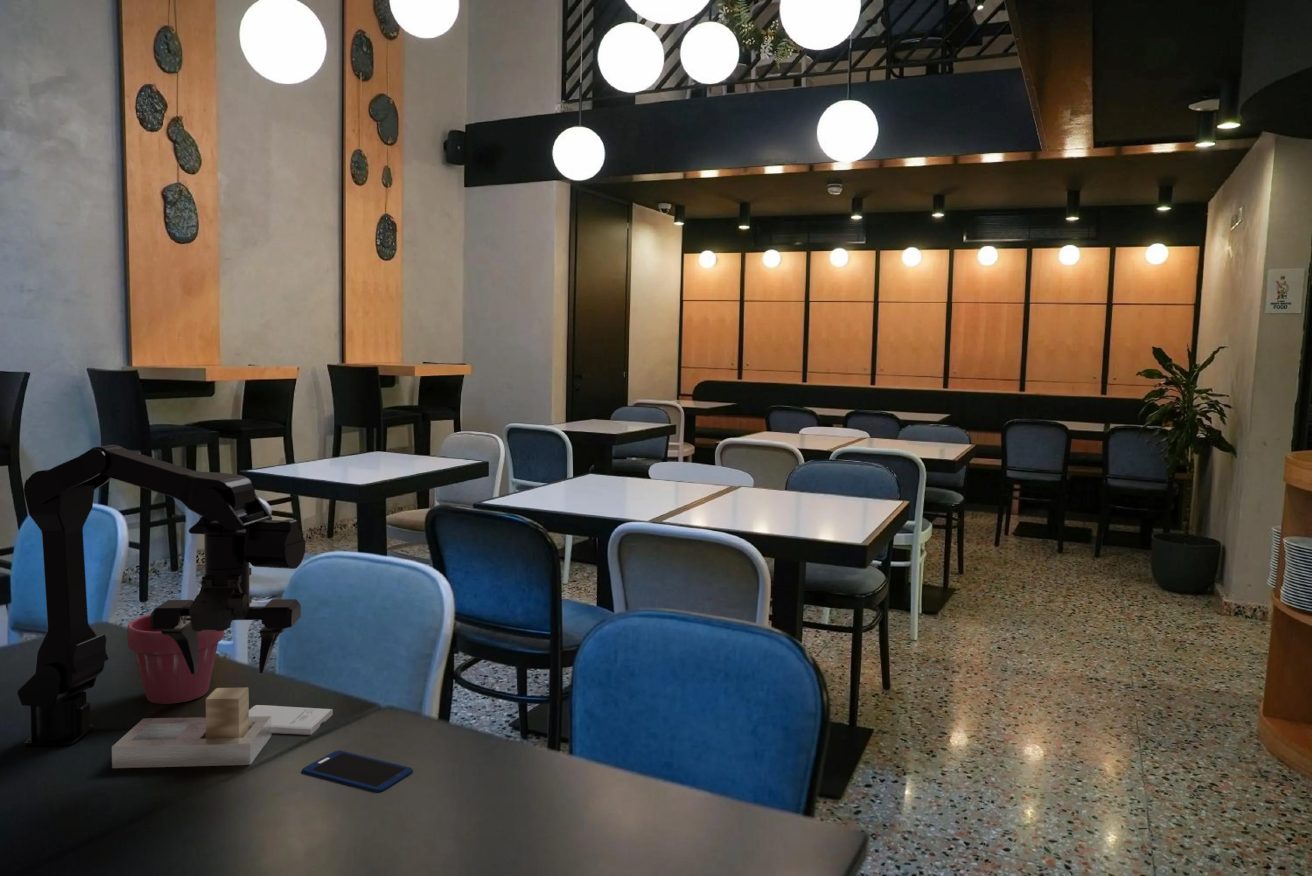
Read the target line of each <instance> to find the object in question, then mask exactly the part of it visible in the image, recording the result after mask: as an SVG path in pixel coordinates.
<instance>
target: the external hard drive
mask: <svg viewBox="0 0 1312 876" xmlns="http://www.w3.org/2000/svg"><path fill="white" fill-rule="evenodd" d="M333 712H334V711H333V709H332V708H319V707H318V708H316V707H315V708H313V707H296V706H280V705H265V704H264V705H262V704H261V705H260V704H256V705H254V706H252V707H251V708H250V709H249V716H271V734H282V735H283V734H284V735H285V734H288V735H307V736H312V734H314V733H315V732H316V731H317V730H318V729H319V728H320V727H321V725H322V724H324V723H325V722H327V721H328V720H329V719H330V718H331V716H332V717H333V714H334V713H333Z"/></svg>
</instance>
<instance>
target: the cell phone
mask: <svg viewBox="0 0 1312 876" xmlns="http://www.w3.org/2000/svg"><path fill="white" fill-rule="evenodd" d="M301 773H302V774H304V775H308V776H312V777H316V778H319V779H324V780H327V781H331V782H334V783H338V784H343V785H346V786H350V787H354V788H358V789H362V790H366V791H368V792H369V791H370V792H374V793H383V792H385V791H387V790H388V789H390V788H392V787H393V786H394V785H396V784H398V783H399V782H401V781H403V780H405V779H406V778H407V777H409V776H411V775H412V774H413V773H414V769H412V767H409V766H406V765H401V764H397V763H392V762H389V761H385V760H382V759H381V760H380V759H377V758H372V757H368V756H365V755H360V754H356V753H354V752H353V753H352V752H347V751H345V750H335V751H333V752H331V753H329V754H327V755H325V756H323V757H321V758H320V759H317V760H316V761H314V762H312V763H310V764H308V765H306V766H305V767H303V768H302V769H301Z"/></svg>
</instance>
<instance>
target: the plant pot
mask: <svg viewBox="0 0 1312 876" xmlns="http://www.w3.org/2000/svg"><path fill="white" fill-rule="evenodd" d="M150 617H151V613H149V614H145V615H142V616H139V617H137V618H134V619H133V620H131V621H129V623H128V624H127V630H126V632H127V638H126V640H127V648H128V649H129V650H130V651H132V652H134V656H135V659H136V663H137V664H136V665H137V668H138V672H139V676H140V678H141V682H142V685H143V689H144V692H145V697H146V699H147V700H148V701H149V702H151V703H154V704H163V705H164V704H167V705H168V704H171V705H172V704H179V703H185V702H189V701H193V700H195V699H199V698H201V697H203V696H205V694H207V693H208V691H209V689H210V688H209V687H210V683H211V678H212V673H213V669H214V665H215V659H216V654H217V650H218V645H219V642H221V641H222V640H223V639H224V636H225V630H224V631H216V630H202V631H198V668H197V673H195V674H191V672H190V669H189V667H188V665H187V663H186V660H185V658H184V656H183V653H182V651H181V649H180V647H179V646H178V644H177V642H176V641H175V640H174V639H173V638H172V637H170V636H169V635H163V634H162V633H161V630H163V629H151V623H150Z"/></svg>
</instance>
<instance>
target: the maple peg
mask: <svg viewBox="0 0 1312 876" xmlns="http://www.w3.org/2000/svg"><path fill="white" fill-rule="evenodd" d="M249 692H250V691H249V687H216V688H215V689H214V690H213V691H212V692H211V693H210V694H209V695H208V696H207V697H206V698H205V717H206V739H215V738H243V737H244V736H245V735H246V734H247V732H248V731H249V710H250V709H249V707H250V706H249V700H250V699H249Z"/></svg>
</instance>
